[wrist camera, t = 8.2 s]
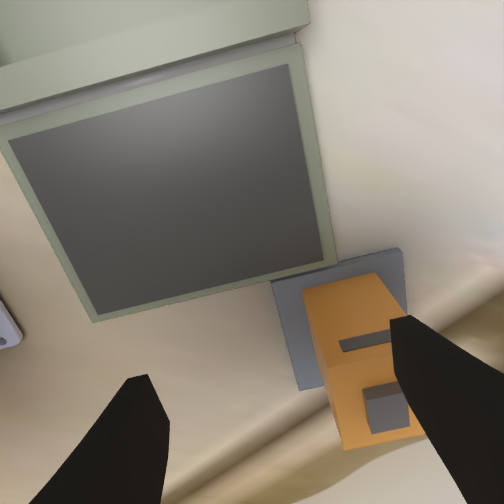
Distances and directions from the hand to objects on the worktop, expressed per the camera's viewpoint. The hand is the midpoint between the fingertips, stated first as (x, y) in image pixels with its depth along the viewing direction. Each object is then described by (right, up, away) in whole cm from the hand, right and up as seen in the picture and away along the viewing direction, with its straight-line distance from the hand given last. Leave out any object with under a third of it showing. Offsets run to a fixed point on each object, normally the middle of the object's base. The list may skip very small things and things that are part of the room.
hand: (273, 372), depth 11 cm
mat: (+5, -1, +11) cm, 12 cm away
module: (+4, 0, +10) cm, 11 cm away
